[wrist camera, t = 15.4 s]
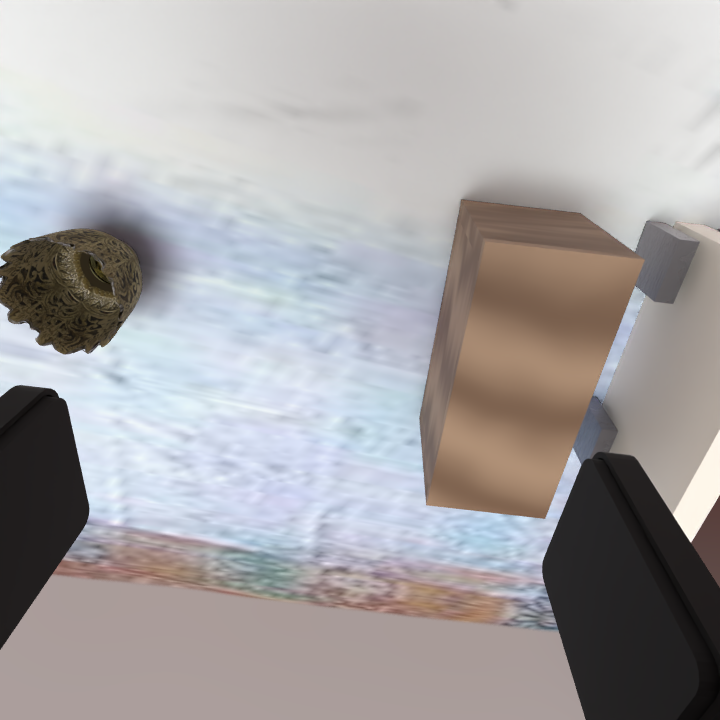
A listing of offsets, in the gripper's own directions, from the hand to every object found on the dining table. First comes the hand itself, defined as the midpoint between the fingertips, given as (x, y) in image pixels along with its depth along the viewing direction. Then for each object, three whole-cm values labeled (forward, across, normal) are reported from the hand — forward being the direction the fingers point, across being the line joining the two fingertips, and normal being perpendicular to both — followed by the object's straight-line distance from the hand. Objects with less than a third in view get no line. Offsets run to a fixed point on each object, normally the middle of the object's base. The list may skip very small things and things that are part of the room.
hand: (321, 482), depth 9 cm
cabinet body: (+28, -10, +9) cm, 31 cm away
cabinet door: (+28, -21, +9) cm, 37 cm away
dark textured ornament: (+28, +18, +7) cm, 34 cm away
